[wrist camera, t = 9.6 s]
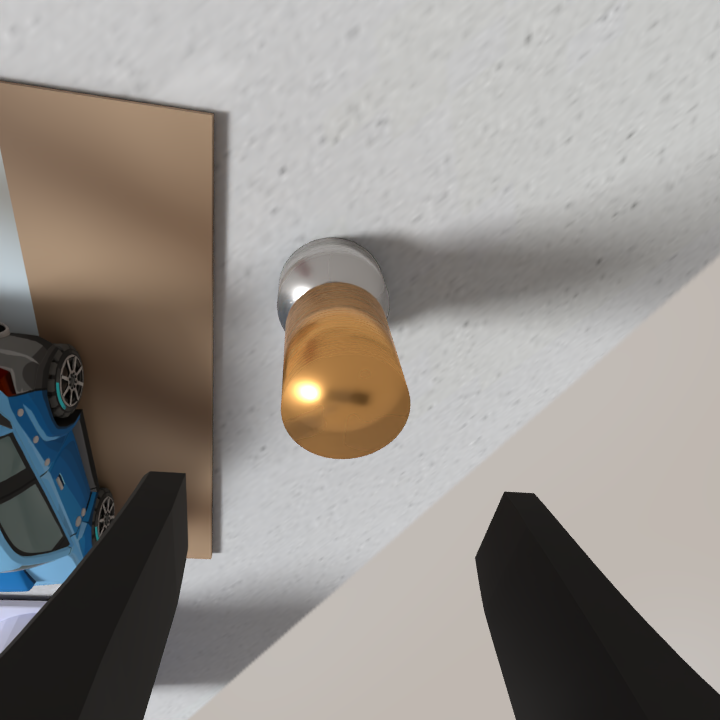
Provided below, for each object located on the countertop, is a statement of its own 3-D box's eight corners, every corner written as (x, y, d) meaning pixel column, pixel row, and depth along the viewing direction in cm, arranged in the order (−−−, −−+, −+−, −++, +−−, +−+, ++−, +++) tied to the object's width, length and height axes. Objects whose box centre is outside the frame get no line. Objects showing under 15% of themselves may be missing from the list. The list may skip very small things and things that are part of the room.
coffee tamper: (383, 330, 19) (421, 461, 13) (284, 338, 19) (277, 474, 13) (382, 234, 17) (425, 335, 11) (272, 241, 17) (257, 349, 11)
